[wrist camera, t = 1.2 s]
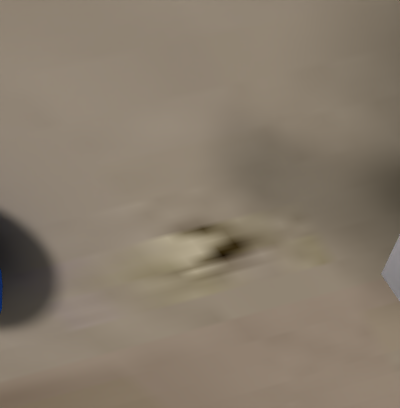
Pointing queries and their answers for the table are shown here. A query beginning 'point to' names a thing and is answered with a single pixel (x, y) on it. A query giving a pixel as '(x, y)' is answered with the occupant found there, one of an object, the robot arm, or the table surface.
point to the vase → (0, 291)
